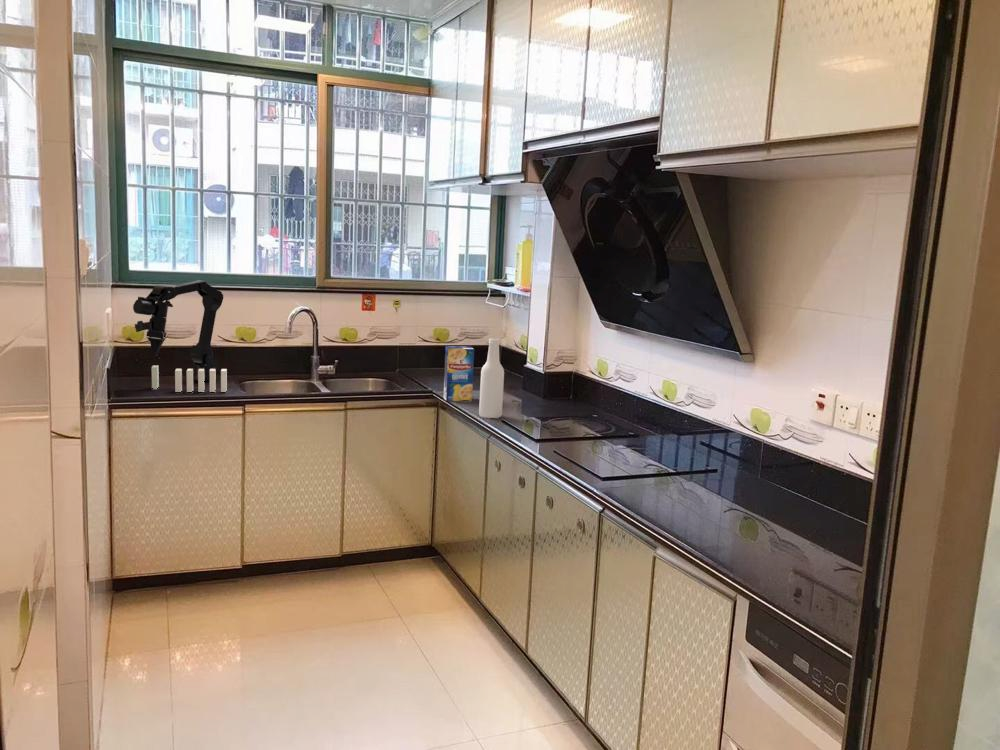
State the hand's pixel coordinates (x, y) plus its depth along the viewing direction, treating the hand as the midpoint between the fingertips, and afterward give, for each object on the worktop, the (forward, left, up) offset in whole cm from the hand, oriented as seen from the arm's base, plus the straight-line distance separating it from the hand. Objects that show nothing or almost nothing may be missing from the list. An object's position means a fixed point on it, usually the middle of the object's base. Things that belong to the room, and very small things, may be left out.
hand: (153, 355), depth 328 cm
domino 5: (-14, +19, -14) cm, 28 cm away
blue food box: (-85, +90, -14) cm, 124 cm away
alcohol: (-71, +119, -14) cm, 139 cm away
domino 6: (-18, +22, -14) cm, 31 cm away
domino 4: (-11, +17, -14) cm, 24 cm away
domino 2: (-4, +12, -14) cm, 19 cm away
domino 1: (0, 0, -14) cm, 14 cm away
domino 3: (-7, +14, -14) cm, 21 cm away
